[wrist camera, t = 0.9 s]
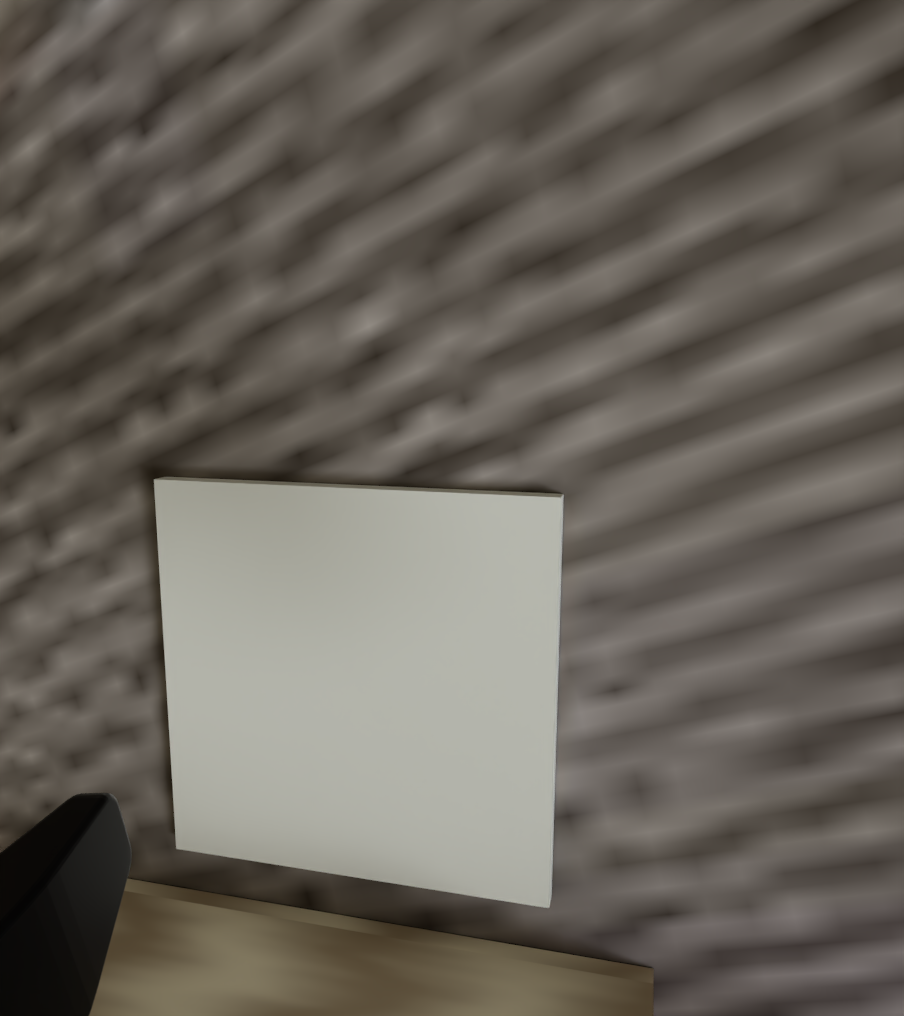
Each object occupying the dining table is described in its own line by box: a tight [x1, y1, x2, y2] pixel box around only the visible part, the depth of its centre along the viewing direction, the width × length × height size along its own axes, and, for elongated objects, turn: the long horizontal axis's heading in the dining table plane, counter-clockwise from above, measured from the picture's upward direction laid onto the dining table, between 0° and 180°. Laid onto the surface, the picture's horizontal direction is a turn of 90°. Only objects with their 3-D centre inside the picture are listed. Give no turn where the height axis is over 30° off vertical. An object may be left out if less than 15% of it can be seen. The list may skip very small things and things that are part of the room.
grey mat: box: [154, 477, 564, 908], centre depth 24 cm, size 12×12×1 cm
